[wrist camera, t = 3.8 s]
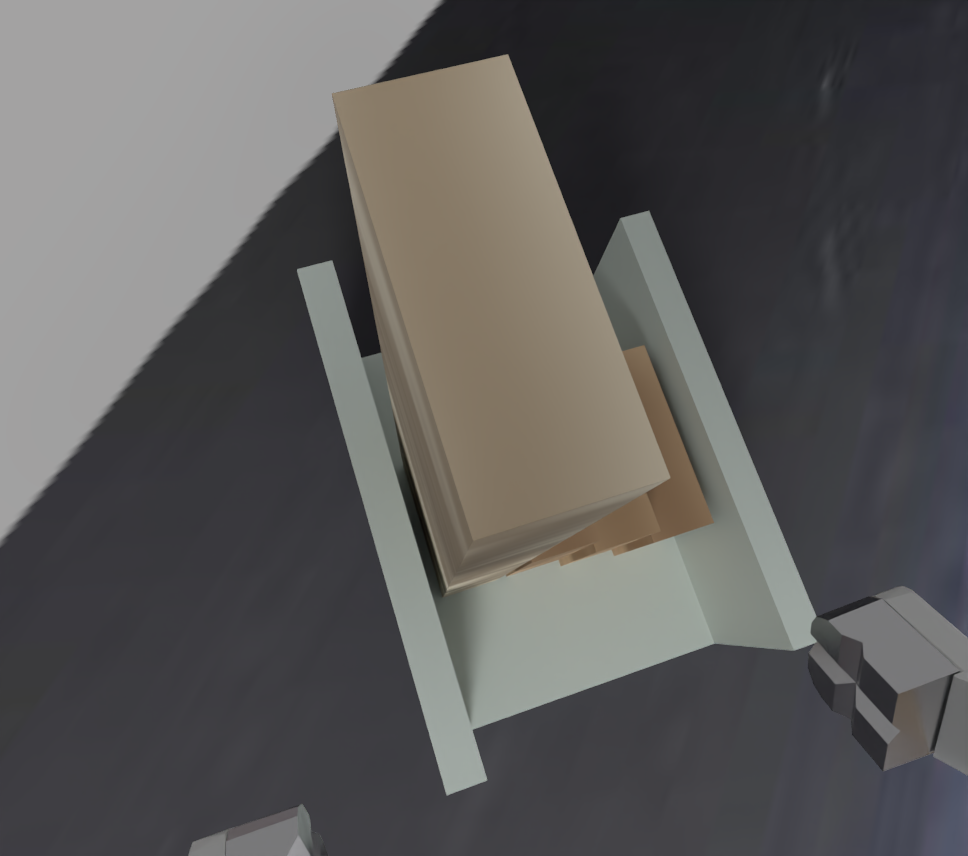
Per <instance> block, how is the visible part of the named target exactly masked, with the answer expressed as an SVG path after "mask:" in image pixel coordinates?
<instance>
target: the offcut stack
mask: <svg viewBox="0 0 968 856" xmlns="http://www.w3.org/2000/svg"><path fill="white" fill-rule="evenodd" d="M622 352H623V355H624V358H625V360H626V363H627V365H628V368H629V371H630V373H631V376H632V378H633V381H634V384H635V386H636V389H637V392H638V394H639V397H640V399H641V402H642V405H643V407H644V410H645V412H646V415H647V418H648V420H649V423H650V425H651V428H652V431H653V433H654V436H655V438H656V441H657V444H658V446H659V449H660V451H661V454H662V457H663V459H664V462H665V464H666V467H667V470H668V472H669V475H670V477H671V478H670V479H668V480H666V481H665V482H663V483H661V484H660V485H658V486H656V487H655V488H653V489H651V490H649V491H648V492H646V493H644V494H643V495H641V496H639V497H637V498H636V499H634V500H632V501H631V502H629V503H627V504H626V505H624V506H622V507H620V508H619V509H617V510H615V511H614V512H612V513H610V514H608V515H607V516H605V517H603V518H602V519H600V520H598V521H596V522H595V523H593V524H591V525H590V526H588V527H586V528H585V529H583V530H581V531H579V532H578V533H576V534H574V535H573V536H571V537H569V538H567V539H566V540H564V541H562V542H561V543H559V544H557V545H556V546H554V547H552V548H550V549H549V550H547V551H545V552H544V553H542V554H540V555H538V556H537V557H535V558H533V559H532V560H530V561H528V562H526V563H525V564H523V565H521V566H520V567H518V568H516V569H515V570H513V571H511V572H509V573H508V574H506V577H507V576H510V575H513V574H517V573H520V572H523V571H526V570H529V569H532V568H535V567H538V566H541V565H544V564H547V563H550V562H553V561H556V560H559V563H560V566H564V565H567V564H570V563H573V562H576V561H579V560H582V559H585V558H588V557H591V556H594V555H597V554H600V553H603V552H606V551H609V550H612V552H613V555H614V556H616V555H619V554H622V553H625V552H628V551H631V550H634V549H637V548H640V547H643V546H646V545H650V544H653V543H656V542H659V541H662V540H665V539H668V538H671V537H674V536H677V535H679V534H682V533H685V532H688V531H691V530H694V529H697V528H700V527H703V526H706V525H709V524H712V523H714V521H713V519H712V516H711V513H710V511H709V508H708V506H707V503H706V501H705V498H704V496H703V493H702V491H701V488H700V485H699V483H698V480H697V478H696V475H695V473H694V470H693V468H692V465H691V463H690V460H689V457H688V455H687V452H686V450H685V447H684V445H683V442H682V440H681V437H680V434H679V432H678V429H677V427H676V424H675V422H674V419H673V417H672V414H671V412H670V409H669V406H668V404H667V401H666V399H665V396H664V394H663V391H662V389H661V386H660V384H659V381H658V378H657V376H656V373H655V371H654V368H653V366H652V363H651V361H650V358H649V356H648V353H647V350H646V348H645V345H642V346H639V347H635V348H632V349H628V350H625V351H622Z"/></svg>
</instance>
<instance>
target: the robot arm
mask: <svg viewBox="0 0 968 856" xmlns="http://www.w3.org/2000/svg"><path fill="white" fill-rule="evenodd" d="M810 634H811V635H812V636H813V637H814V638H815V639H816V641H817V642H816V643H815V645H814V646H813V647H812V649H811V650H810V652H809V653H808V669H809V672H810V675H811V678H812V681H813V684H814V686H815V688H816V689H817V691H818V693H819V694H820V696H821V698H822V699H823V700H824V701H825V703H826V704H827V705H828V706H829V707H830V709H831V710H832V711H834V712H836V713H838V714H840V715H843V716H845V717H847V718H849V719H851V728H852V735H853V736H854V738H855V739H856V740H857V741H858V742H859V744H860V745H861V746H862V747H863V748H864V750H865V751H866V752H867V753H868V754H869V755H870V757H871V758H872V759H873V760H874V761H875V763H876V764H877V765H878V766H879V767H880V769H881V770H882V771H885V770H888V769H891V768H894V767H896V766H899V765H902V764H905V763H907V762H910V761H913V760H915V759H918V758H921V757H924V756H926V755H929V754H932V753H934V755H933V756H934V757H935V758H937V759H939V760H941V761H943V762H944V763H946V764H948V765H950V766H952V767H953V768H955V769H957V770H959V771H961V772H962V773H964V774H966V775H968V638H967V637H966V636H965V635H963V634H962V633H961V632H960V631H959V630H958V629H957V628H955V627H954V626H953V625H952V624H951V623H950V622H948V621H947V620H946V619H945V618H944V617H943V616H941V615H940V614H939V613H938V612H937V611H936V610H935V609H933V608H932V607H931V606H930V605H929V604H928V603H926V602H925V601H924V600H923V599H922V598H921V597H919V596H918V595H917V594H916V593H915V592H914V591H912V590H911V589H909V588H906V587H904V586H900V587H895V588H893V589H890V590H887V591H885V592H882V593H880V594H877V595H875V596H872V597H866V598H864V599H861V600H858V601H856V602H853V603H851V604H848V605H845V606H843V607H840V608H837V609H835V610H832V611H830V612H827V613H824V614H822V615H819V616H817V617H816V618H815V619H814V620H813V621H812V623H811V632H810ZM188 856H328V854H327V851H326V848H325V845H324V843H323V841H322V839H321V837H320V835H319V834H318V833H315V832H312V831H311V826H310V816H309V814H308V813H307V811H306V809H305V808H304V806H303V804H300V805H298V806H295V807H292V808H289V809H286V810H283V811H280V812H277V813H274V814H272V815H269V816H266V817H263V818H260V819H257V820H254V821H251V822H249V823H246V824H243V825H240V826H237V827H234V828H230V829H227V830H224V831H222V832H219V833H216V834H213V835H211V836H208V837H205V838H202V839H200V840H197V841H194V842H193V843H192V846H191V849H190V852H189V855H188Z"/></svg>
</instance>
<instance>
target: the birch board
mask: <svg viewBox="0 0 968 856" xmlns="http://www.w3.org/2000/svg"><path fill="white" fill-rule="evenodd" d="M332 97H333V102H334V108H335V113H336V118H337V123H338V128H339V134H340V139H341V144H342V149H343V155H344V160H345V165H346V170H347V175H348V181H349V186H350V191H351V196H352V202H353V207H354V212H355V217H356V223H357V228H358V233H359V238H360V243H361V249H362V254H363V259H364V264H365V270H366V275H367V280H368V285H369V291H370V296H371V301H372V306H373V311H374V317H375V322H376V327H377V332H378V338H379V343H380V348H381V353H382V358H383V364H384V369H385V374H386V379H387V385H388V390H389V395H390V400H391V406H392V411H393V416H394V421H395V426H396V432H397V437H398V442H399V447H400V453H401V458H402V463H403V467H404V471H405V474H406V477H407V481H408V484H409V487H410V491H411V494H412V497H413V501H414V504H415V507H416V511H417V514H418V517H419V520H420V524H421V527H422V530H423V534H424V537H425V540H426V544H427V547H428V550H429V554H430V557H431V560H432V564H433V567H434V570H435V574H436V577H437V580H438V584H439V587H440V590H441V593H442V597H443V598H444V597H447V596H450V595H453V594H456V593H459V592H462V591H465V590H468V589H471V588H474V587H477V586H480V585H483V584H486V583H489V582H492V581H495V580H497V579H499V578H501V577H503V576H504V575H506V574H508V573H509V572H511V571H513V570H515V569H516V568H518V567H520V566H521V565H523V564H525V563H526V562H528V561H530V560H532V559H533V558H535V557H537V556H538V555H540V554H542V553H544V552H545V551H547V550H549V549H550V548H552V547H554V546H556V545H557V544H559V543H561V542H562V541H564V540H566V539H567V538H569V537H571V536H573V535H574V534H576V533H578V532H579V531H581V530H583V529H585V528H586V527H588V526H590V525H591V524H593V523H595V522H596V521H598V520H600V519H602V518H603V517H605V516H607V515H608V514H610V513H612V512H614V511H615V510H617V509H619V508H620V507H622V506H624V505H626V504H627V503H629V502H631V501H632V500H634V499H636V498H637V497H639V496H641V495H643V494H644V493H646V492H648V491H649V490H651V489H653V488H655V487H656V486H658V485H660V484H661V483H663V482H665V481H666V480H668V479H670V478H671V477H670V475H669V472H668V470H667V467H666V464H665V462H664V459H663V457H662V454H661V451H660V449H659V446H658V444H657V441H656V438H655V436H654V433H653V431H652V428H651V425H650V423H649V420H648V418H647V415H646V412H645V410H644V407H643V405H642V402H641V399H640V397H639V394H638V392H637V389H636V386H635V384H634V381H633V378H632V376H631V373H630V371H629V368H628V365H627V363H626V360H625V358H624V355H623V352H622V350H621V347H620V345H619V342H618V339H617V337H616V334H615V332H614V329H613V326H612V324H611V321H610V319H609V316H608V313H607V311H606V308H605V306H604V303H603V300H602V298H601V295H600V293H599V290H598V287H597V285H596V282H595V280H594V277H593V274H592V272H591V269H590V267H589V264H588V261H587V259H586V256H585V254H584V251H583V248H582V246H581V243H580V241H579V238H578V235H577V233H576V230H575V228H574V225H573V222H572V220H571V217H570V215H569V212H568V209H567V207H566V204H565V202H564V199H563V196H562V194H561V191H560V189H559V186H558V183H557V181H556V178H555V176H554V173H553V170H552V168H551V165H550V163H549V160H548V157H547V155H546V152H545V150H544V147H543V144H542V142H541V139H540V137H539V134H538V131H537V129H536V126H535V124H534V121H533V118H532V116H531V113H530V111H529V108H528V105H527V103H526V100H525V97H524V95H523V92H522V90H521V87H520V84H519V82H518V79H517V77H516V74H515V71H514V69H513V66H512V64H511V61H510V58H509V56H508V54H507V55H503V56H498V57H494V58H489V59H485V60H480V61H476V62H471V63H467V64H462V65H458V66H453V67H449V68H444V69H440V70H435V71H431V72H426V73H422V74H417V75H413V76H408V77H404V78H399V79H395V80H390V81H386V82H381V83H377V84H372V85H368V86H364V87H359V88H355V89H350V90H346V91H341V92H337V93H332Z"/></svg>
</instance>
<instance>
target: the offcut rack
mask: <svg viewBox="0 0 968 856" xmlns="http://www.w3.org/2000/svg"><path fill="white" fill-rule="evenodd" d="M297 272H298V276H299V279H300V283H301V286H302V290H303V293H304V297H305V300H306V304H307V307H308V311H309V314H310V318H311V321H312V325H313V328H314V332H315V335H316V339H317V342H318V346H319V349H320V353H321V356H322V360H323V363H324V367H325V370H326V374H327V377H328V381H329V384H330V388H331V391H332V395H333V398H334V402H335V405H336V409H337V412H338V416H339V419H340V423H341V426H342V430H343V433H344V437H345V440H346V444H347V447H348V451H349V454H350V458H351V461H352V465H353V468H354V472H355V475H356V479H357V482H358V486H359V489H360V493H361V496H362V500H363V503H364V507H365V510H366V514H367V517H368V521H369V525H370V528H371V532H372V535H373V539H374V542H375V546H376V549H377V553H378V556H379V560H380V563H381V567H382V570H383V574H384V577H385V581H386V584H387V588H388V591H389V595H390V598H391V602H392V605H393V609H394V612H395V616H396V619H397V623H398V626H399V630H400V633H401V637H402V640H403V644H404V647H405V651H406V654H407V658H408V661H409V665H410V668H411V672H412V675H413V679H414V682H415V686H416V689H417V693H418V696H419V700H420V703H421V707H422V710H423V714H424V717H425V721H426V724H427V728H428V731H429V735H430V738H431V742H432V745H433V749H434V752H435V756H436V759H437V763H438V766H439V770H440V773H441V777H442V780H443V784H444V787H445V791H446V794H447V795H449V794H452V793H454V792H457V791H460V790H463V789H465V788H468V787H471V786H473V785H476V784H479V783H482V782H484V781H487V778H486V774H485V771H484V768H483V764H482V761H481V758H480V754H479V751H478V748H477V744H476V741H475V738H474V734H473V731H472V730H473V729H475V728H478V727H481V726H484V725H487V724H489V723H492V722H495V721H498V720H501V719H503V718H506V717H509V716H512V715H515V714H518V713H520V712H523V711H526V710H529V709H532V708H534V707H537V706H540V705H543V704H546V703H548V702H551V701H554V700H557V699H560V698H562V697H565V696H568V695H571V694H574V693H577V692H579V691H582V690H585V689H588V688H591V687H593V686H596V685H599V684H602V683H605V682H607V681H610V680H613V679H616V678H619V677H622V676H624V675H627V674H630V673H633V672H636V671H638V670H641V669H644V668H647V667H650V666H652V665H655V664H658V663H661V662H664V661H666V660H669V659H672V658H675V657H678V656H681V655H683V654H686V653H689V652H692V651H695V650H697V649H700V648H703V647H706V646H709V645H711V644H714V643H715V644H726V645H737V646H748V647H759V648H770V649H781V650H792V651H794V650H797V649H800V648H803V647H805V646H808V645H811V644H814V643H816V642H817V641H816V639H815V638H814V637H813V636H812V635H811V634H810V632H811V623H812V621H813V620H814V619H815V618H816V615H815V612H814V610H813V607H812V605H811V603H810V600H809V598H808V595H807V593H806V590H805V588H804V586H803V583H802V581H801V578H800V576H799V573H798V571H797V569H796V566H795V564H794V561H793V559H792V557H791V554H790V552H789V549H788V547H787V544H786V542H785V540H784V537H783V535H782V532H781V530H780V527H779V525H778V523H777V520H776V518H775V515H774V513H773V510H772V508H771V506H770V503H769V501H768V498H767V496H766V493H765V491H764V489H763V486H762V484H761V481H760V479H759V476H758V474H757V472H756V469H755V467H754V464H753V462H752V459H751V457H750V455H749V452H748V450H747V447H746V445H745V442H744V440H743V438H742V435H741V433H740V430H739V428H738V425H737V423H736V421H735V418H734V416H733V413H732V411H731V409H730V406H729V404H728V401H727V399H726V396H725V394H724V392H723V389H722V387H721V384H720V382H719V379H718V377H717V375H716V372H715V370H714V367H713V365H712V362H711V360H710V358H709V355H708V353H707V350H706V348H705V345H704V343H703V341H702V338H701V336H700V333H699V331H698V328H697V326H696V324H695V321H694V319H693V316H692V314H691V311H690V309H689V307H688V304H687V302H686V299H685V297H684V294H683V292H682V290H681V287H680V285H679V282H678V280H677V277H676V275H675V273H674V270H673V268H672V265H671V263H670V261H669V258H668V256H667V253H666V251H665V248H664V246H663V244H662V241H661V239H660V236H659V234H658V231H657V229H656V227H655V224H654V222H653V219H652V217H651V214H650V212H649V211H646V212H642V213H639V214H635V215H631V216H627V217H623V218H620V220H619V222H618V224H617V227H616V229H615V231H614V233H613V235H612V237H611V239H610V241H609V244H608V246H607V248H606V250H605V252H604V254H603V256H602V258H601V261H600V263H599V265H598V267H597V269H596V271H595V273H594V275H593V277H594V280H595V282H596V285H597V287H598V290H599V293H600V295H601V298H602V300H603V303H604V306H605V308H606V311H607V313H608V316H609V319H610V321H611V324H612V326H613V329H614V332H615V334H616V337H617V339H618V342H619V345H620V347H621V350H622V351H625V350H628V349H632V348H635V347H639V346H642V345H645V348H646V350H647V353H648V356H649V358H650V361H651V363H652V366H653V368H654V371H655V373H656V376H657V378H658V381H659V384H660V386H661V389H662V391H663V394H664V396H665V399H666V401H667V404H668V406H669V409H670V412H671V414H672V417H673V419H674V422H675V424H676V427H677V429H678V432H679V434H680V437H681V440H682V442H683V445H684V447H685V450H686V452H687V455H688V457H689V460H690V463H691V465H692V468H693V470H694V473H695V475H696V478H697V480H698V483H699V485H700V488H701V491H702V493H703V496H704V498H705V501H706V503H707V506H708V508H709V511H710V513H711V516H712V519H713V521H714V523H712V524H709V525H706V526H703V527H700V528H697V529H694V530H691V531H688V532H685V533H682V534H679V535H677V536H674V537H671V538H668V539H665V540H662V541H659V542H656V543H653V544H650V545H646V546H643V547H640V548H637V549H634V550H631V551H628V552H625V553H622V554H619V555H616V556H614V555H613V552H612V550H609V551H606V552H603V553H600V554H597V555H594V556H591V557H588V558H585V559H582V560H579V561H576V562H573V563H570V564H567V565H564V566H560V563H559V560H556V561H553V562H550V563H547V564H544V565H541V566H538V567H535V568H532V569H529V570H526V571H523V572H520V573H517V574H513V575H510V576H507V577H506V575H504V576H503V577H501V578H499V579H497V580H495V581H492V582H489V583H486V584H483V585H480V586H477V587H474V588H471V589H468V590H465V591H462V592H459V593H456V594H453V595H450V596H447V597H444V598H443V597H442V593H441V590H440V587H439V584H438V580H437V577H436V574H435V570H434V567H433V564H432V560H431V557H430V554H429V550H428V547H427V544H426V540H425V537H424V534H423V530H422V527H421V524H420V520H419V517H418V514H417V511H416V507H415V504H414V501H413V497H412V494H411V491H410V487H409V484H408V481H407V477H406V474H405V471H404V467H403V463H402V458H401V453H400V447H399V442H398V437H397V432H396V426H395V421H394V416H393V411H392V406H391V400H390V395H389V390H388V385H387V379H386V374H385V369H384V364H383V358H382V353H378V354H375V355H371V356H367V357H364V358H361V355H360V352H359V349H358V345H357V342H356V339H355V335H354V332H353V329H352V325H351V322H350V318H349V315H348V312H347V308H346V305H345V302H344V298H343V295H342V292H341V288H340V285H339V282H338V278H337V275H336V272H335V268H334V265H333V261H328V262H324V263H320V264H316V265H312V266H308V267H304V268H301V269H297Z"/></svg>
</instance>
